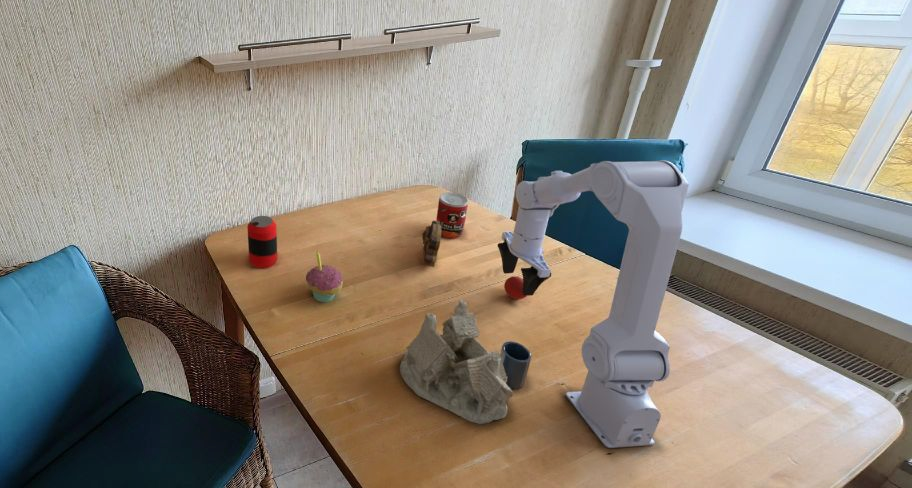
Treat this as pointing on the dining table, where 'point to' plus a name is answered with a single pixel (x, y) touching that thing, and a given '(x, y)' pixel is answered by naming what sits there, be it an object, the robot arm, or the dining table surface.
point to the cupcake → (324, 281)
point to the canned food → (452, 214)
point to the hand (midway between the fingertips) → (517, 283)
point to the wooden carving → (431, 243)
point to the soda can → (262, 242)
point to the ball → (514, 287)
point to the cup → (515, 363)
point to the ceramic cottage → (457, 369)
